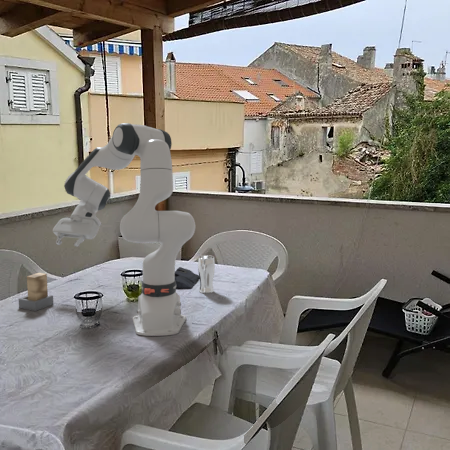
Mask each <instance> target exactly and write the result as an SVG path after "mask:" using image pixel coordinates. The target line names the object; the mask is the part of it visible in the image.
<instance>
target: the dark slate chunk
mask: <svg viewBox="0 0 450 450" xmlns="http://www.w3.org/2000/svg"><path fill="white" fill-rule="evenodd" d="M175 280H176V289H183V290H191V289H193V288H194V287H195V285H196V284H197V283H198V282H199V281H200V278H199V274H196V273H194V272H193V271H192V270H191V269H187V268H184V267H181V266H179V267H178V268H176V270H175Z"/></svg>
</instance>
